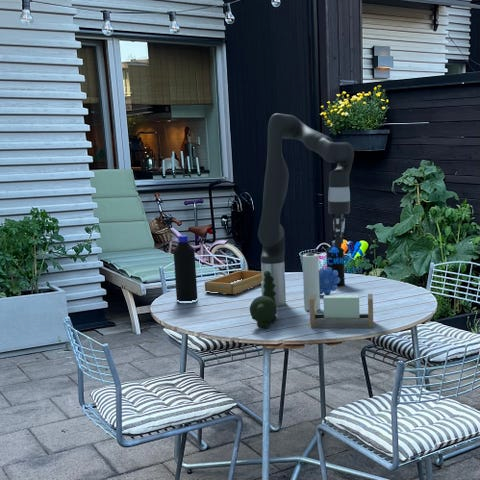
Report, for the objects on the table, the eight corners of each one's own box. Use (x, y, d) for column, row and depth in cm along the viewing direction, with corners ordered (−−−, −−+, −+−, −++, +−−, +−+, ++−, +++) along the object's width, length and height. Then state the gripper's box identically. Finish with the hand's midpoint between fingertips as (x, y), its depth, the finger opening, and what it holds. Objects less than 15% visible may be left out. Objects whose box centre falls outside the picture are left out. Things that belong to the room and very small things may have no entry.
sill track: (310, 327, 214) (309, 299, 213) (312, 321, 222) (311, 294, 220) (373, 328, 210) (372, 299, 208) (373, 321, 217) (372, 293, 216)
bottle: (194, 304, 258) (190, 237, 254) (174, 304, 260) (169, 237, 256) (200, 299, 266) (196, 234, 262) (180, 299, 268) (176, 234, 264)
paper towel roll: (318, 311, 235) (316, 255, 232) (302, 311, 237) (300, 255, 234) (322, 306, 242) (320, 252, 239) (307, 306, 244) (305, 252, 241)
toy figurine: (258, 319, 235) (246, 332, 211) (256, 269, 234) (244, 276, 210) (283, 319, 234) (274, 332, 209) (281, 269, 233) (272, 276, 208)
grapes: (341, 292, 264) (340, 265, 262) (340, 296, 257) (339, 268, 256) (313, 292, 266) (312, 265, 265) (312, 296, 260) (311, 268, 258)
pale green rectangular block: (324, 323, 215) (323, 297, 214) (325, 320, 219) (324, 295, 217) (359, 323, 213) (358, 297, 211) (359, 320, 216) (359, 295, 215)
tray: (241, 280, 302) (240, 269, 302) (268, 282, 294) (268, 271, 293) (205, 294, 277) (204, 281, 276) (233, 297, 269) (233, 284, 268)
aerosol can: (326, 283, 284) (325, 240, 282) (345, 282, 283) (343, 239, 280) (326, 287, 276) (325, 242, 274) (345, 286, 275) (344, 242, 272)
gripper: (348, 201, 210) (348, 248, 213) (351, 198, 224) (351, 242, 227) (326, 201, 212) (326, 248, 215) (330, 198, 226) (330, 242, 228)
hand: (339, 245), depth 221 cm, fingers open, 8 cm apart
